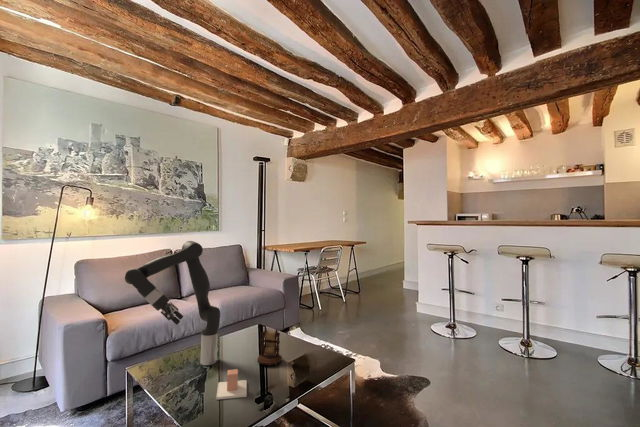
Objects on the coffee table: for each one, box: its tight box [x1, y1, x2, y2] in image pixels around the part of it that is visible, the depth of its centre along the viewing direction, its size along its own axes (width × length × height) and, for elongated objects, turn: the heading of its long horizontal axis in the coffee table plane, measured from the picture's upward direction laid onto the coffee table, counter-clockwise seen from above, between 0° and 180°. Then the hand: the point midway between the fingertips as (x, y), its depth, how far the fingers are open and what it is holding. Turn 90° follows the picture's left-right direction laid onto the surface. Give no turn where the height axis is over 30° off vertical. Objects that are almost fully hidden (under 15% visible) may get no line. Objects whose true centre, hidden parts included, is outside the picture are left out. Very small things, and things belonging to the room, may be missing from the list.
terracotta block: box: [226, 368, 239, 391], centre depth 157 cm, size 5×5×8 cm
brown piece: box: [257, 328, 283, 366], centre depth 190 cm, size 15×15×20 cm
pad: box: [215, 379, 248, 401], centre depth 156 cm, size 14×14×1 cm
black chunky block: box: [258, 394, 274, 412], centre depth 144 cm, size 12×7×5 cm, turn 162°
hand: (180, 320), depth 162 cm, fingers open, 8 cm apart
